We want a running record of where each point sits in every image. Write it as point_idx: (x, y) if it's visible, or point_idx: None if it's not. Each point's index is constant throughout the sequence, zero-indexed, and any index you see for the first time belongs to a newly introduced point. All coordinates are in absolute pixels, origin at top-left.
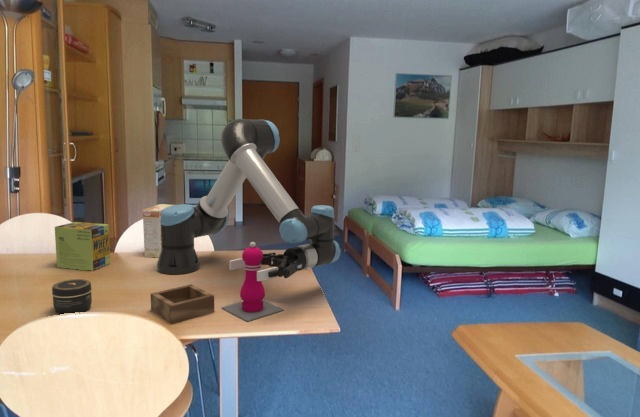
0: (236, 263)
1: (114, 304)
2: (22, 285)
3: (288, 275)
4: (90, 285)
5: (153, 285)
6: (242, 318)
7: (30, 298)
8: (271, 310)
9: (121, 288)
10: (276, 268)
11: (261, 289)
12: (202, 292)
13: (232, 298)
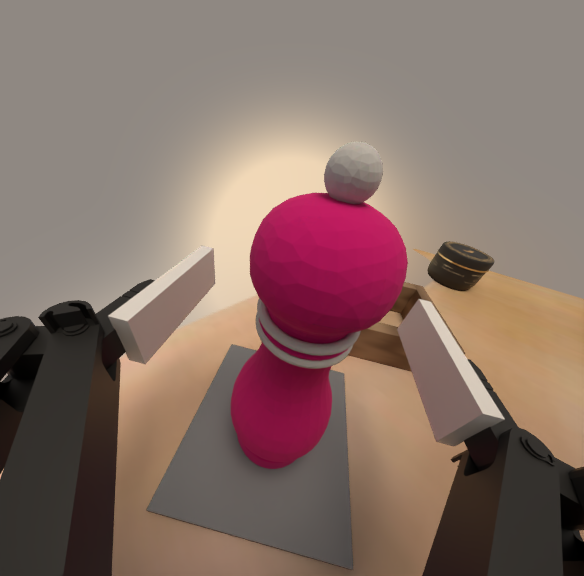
0: (420, 335)
1: (453, 303)
2: (561, 298)
3: (4, 379)
4: (465, 259)
5: (581, 397)
6: (251, 349)
7: (500, 281)
8: (200, 452)
9: (549, 348)
10: (115, 315)
11: (238, 385)
12: (384, 325)
13: (407, 471)
